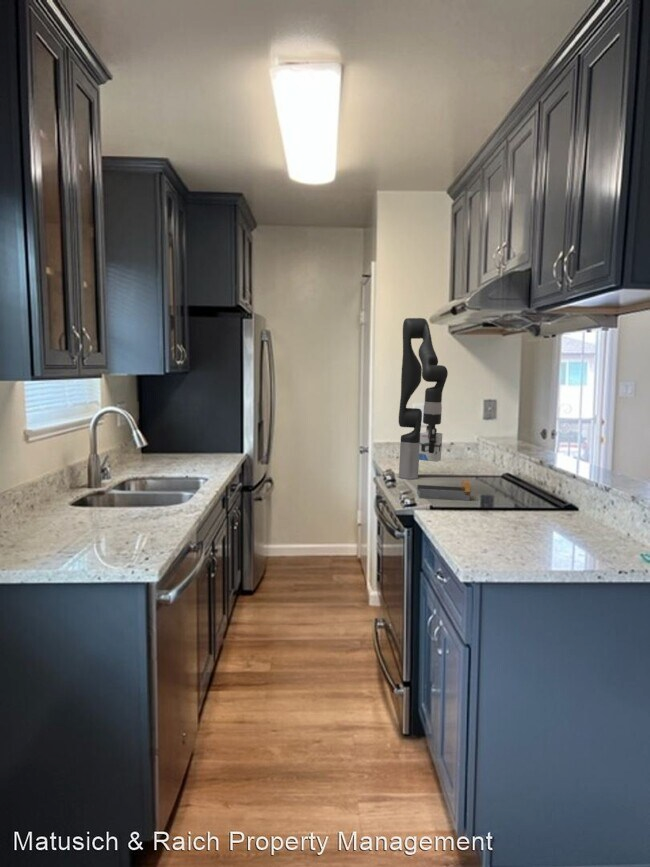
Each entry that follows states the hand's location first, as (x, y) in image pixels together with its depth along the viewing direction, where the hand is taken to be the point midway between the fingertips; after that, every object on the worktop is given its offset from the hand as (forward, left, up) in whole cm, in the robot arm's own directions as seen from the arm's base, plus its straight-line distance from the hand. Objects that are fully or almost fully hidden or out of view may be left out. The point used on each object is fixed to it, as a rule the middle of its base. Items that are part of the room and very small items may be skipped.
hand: (430, 451), depth 255 cm
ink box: (0, 0, -4) cm, 4 cm away
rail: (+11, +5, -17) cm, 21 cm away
